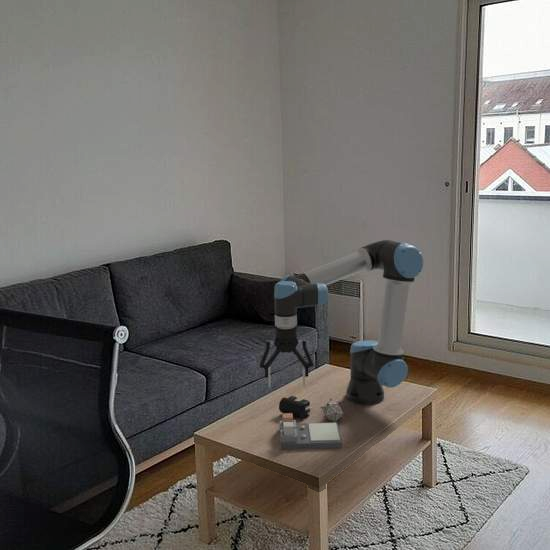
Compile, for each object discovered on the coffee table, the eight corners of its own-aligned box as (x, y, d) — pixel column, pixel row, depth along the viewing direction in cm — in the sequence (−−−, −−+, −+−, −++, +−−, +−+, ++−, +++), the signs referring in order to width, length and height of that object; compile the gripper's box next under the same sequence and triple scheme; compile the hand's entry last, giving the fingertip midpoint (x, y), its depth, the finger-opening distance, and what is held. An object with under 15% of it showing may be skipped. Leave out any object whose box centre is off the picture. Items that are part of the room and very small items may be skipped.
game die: (338, 429, 248) (354, 411, 245) (323, 428, 243) (339, 410, 239) (326, 411, 254) (342, 393, 250) (312, 410, 248) (327, 392, 245)
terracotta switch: (292, 422, 239) (292, 413, 238) (293, 426, 235) (292, 417, 234) (283, 422, 239) (282, 413, 238) (283, 426, 235) (283, 417, 234)
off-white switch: (293, 431, 232) (293, 421, 231) (293, 435, 228) (293, 426, 228) (283, 431, 232) (283, 422, 231) (283, 436, 228) (283, 426, 228)
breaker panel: (337, 427, 242) (337, 417, 241) (341, 447, 227) (341, 436, 226) (279, 429, 242) (279, 418, 241) (280, 449, 227) (280, 438, 226)
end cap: (278, 416, 253) (278, 399, 251) (290, 409, 258) (289, 393, 256) (300, 423, 246) (299, 406, 245) (311, 416, 252) (310, 399, 250)
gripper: (251, 330, 225) (252, 390, 230) (321, 328, 225) (321, 388, 230) (251, 323, 233) (253, 382, 237) (319, 322, 233) (319, 380, 237)
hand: (286, 385), depth 234 cm, fingers open, 11 cm apart
